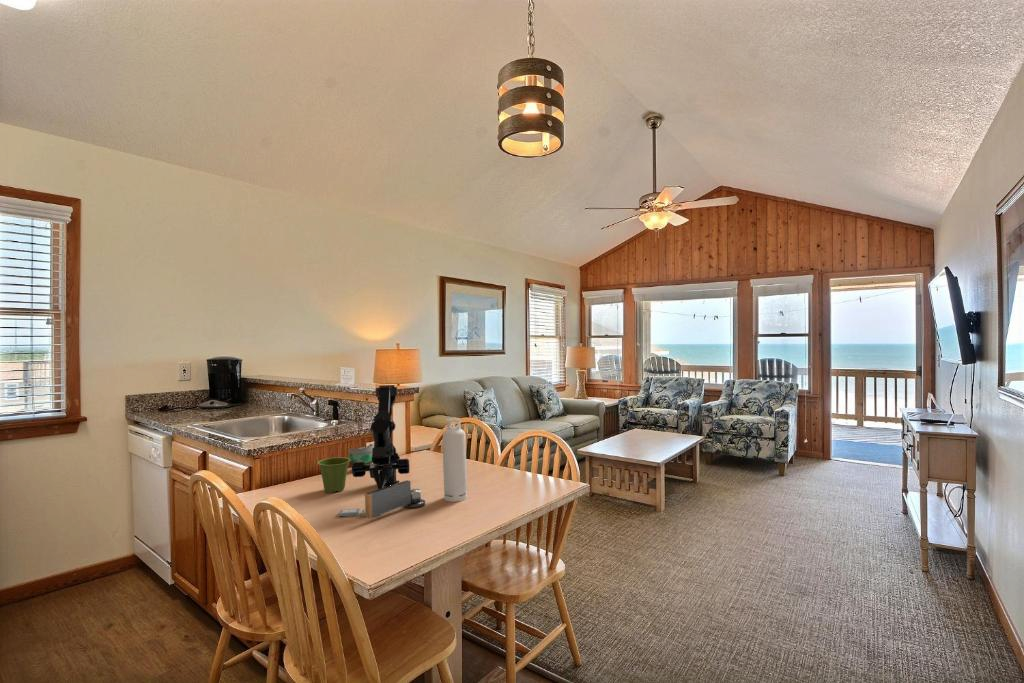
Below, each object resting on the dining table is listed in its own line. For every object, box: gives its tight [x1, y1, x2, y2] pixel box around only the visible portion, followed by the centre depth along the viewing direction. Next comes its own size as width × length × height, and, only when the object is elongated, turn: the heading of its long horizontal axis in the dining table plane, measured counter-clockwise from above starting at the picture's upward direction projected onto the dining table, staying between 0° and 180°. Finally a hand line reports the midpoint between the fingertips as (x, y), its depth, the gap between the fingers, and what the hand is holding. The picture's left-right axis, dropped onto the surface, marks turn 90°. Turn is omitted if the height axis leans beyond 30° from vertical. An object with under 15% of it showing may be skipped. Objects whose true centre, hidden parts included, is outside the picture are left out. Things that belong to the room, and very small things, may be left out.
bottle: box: [442, 417, 468, 503], centre depth 177 cm, size 8×8×28 cm
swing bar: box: [364, 479, 422, 519], centre depth 163 cm, size 22×4×8 cm, turn 143°
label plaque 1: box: [338, 508, 361, 518], centre depth 163 cm, size 4×6×1 cm, turn 100°
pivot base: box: [404, 498, 426, 510], centre depth 170 cm, size 7×7×1 cm
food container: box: [348, 443, 374, 469], centre depth 220 cm, size 12×6×10 cm, turn 147°
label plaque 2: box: [360, 509, 379, 517], centre depth 162 cm, size 4×6×1 cm, turn 100°
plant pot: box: [317, 456, 351, 493], centre depth 190 cm, size 12×12×11 cm
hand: (380, 490), depth 163 cm, fingers closed
